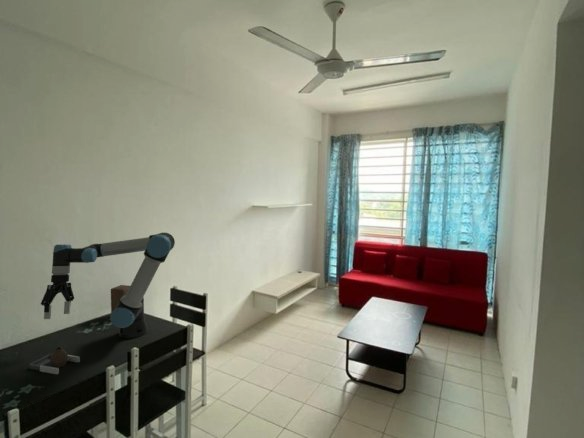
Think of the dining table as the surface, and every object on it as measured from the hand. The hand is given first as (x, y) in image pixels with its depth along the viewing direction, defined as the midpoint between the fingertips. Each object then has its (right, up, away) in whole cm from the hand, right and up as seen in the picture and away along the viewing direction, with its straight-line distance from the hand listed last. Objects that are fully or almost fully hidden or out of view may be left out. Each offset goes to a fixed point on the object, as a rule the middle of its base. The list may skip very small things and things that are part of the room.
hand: (57, 316), depth 163 cm
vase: (+9, -20, -11) cm, 25 cm away
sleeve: (+10, -20, -12) cm, 25 cm away
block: (+6, -16, +51) cm, 54 cm away
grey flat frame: (+2, -20, -10) cm, 22 cm away
